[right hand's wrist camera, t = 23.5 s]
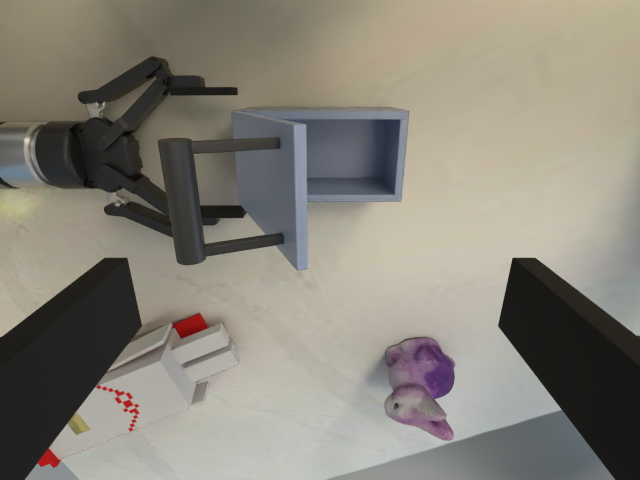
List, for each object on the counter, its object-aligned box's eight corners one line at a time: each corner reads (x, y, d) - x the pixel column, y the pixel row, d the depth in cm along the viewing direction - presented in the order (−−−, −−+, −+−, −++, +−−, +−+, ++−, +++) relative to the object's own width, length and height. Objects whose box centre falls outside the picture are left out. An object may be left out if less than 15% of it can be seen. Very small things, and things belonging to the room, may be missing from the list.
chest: (391, 107, 46) (409, 111, 37) (386, 182, 50) (401, 201, 41) (252, 107, 46) (236, 110, 37) (257, 182, 50) (243, 201, 41)
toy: (244, 399, 51) (44, 479, 51) (249, 343, 64) (89, 408, 64) (204, 331, 47) (-13, 418, 47) (218, 286, 60) (47, 354, 60)
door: (306, 124, 22) (156, 129, 19) (308, 269, 25) (182, 293, 22) (239, 110, 37) (150, 112, 34) (246, 202, 41) (166, 211, 37)
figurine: (369, 360, 61) (384, 440, 47) (416, 322, 58) (447, 395, 44) (407, 391, 63) (432, 475, 49) (454, 356, 60) (495, 435, 46)
